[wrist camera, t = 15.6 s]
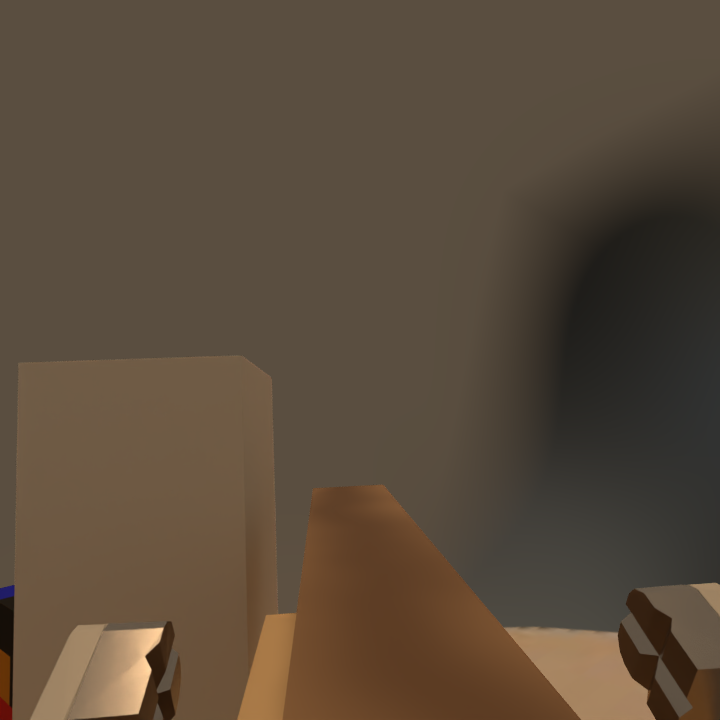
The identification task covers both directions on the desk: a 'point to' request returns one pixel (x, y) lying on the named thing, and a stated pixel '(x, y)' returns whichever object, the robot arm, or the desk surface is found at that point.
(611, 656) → the desk surface
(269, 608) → the tall beige box
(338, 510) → the walnut bar
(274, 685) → the tower top
